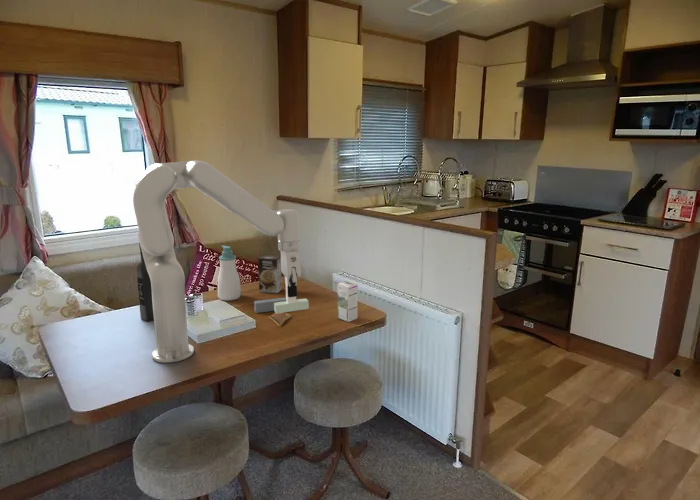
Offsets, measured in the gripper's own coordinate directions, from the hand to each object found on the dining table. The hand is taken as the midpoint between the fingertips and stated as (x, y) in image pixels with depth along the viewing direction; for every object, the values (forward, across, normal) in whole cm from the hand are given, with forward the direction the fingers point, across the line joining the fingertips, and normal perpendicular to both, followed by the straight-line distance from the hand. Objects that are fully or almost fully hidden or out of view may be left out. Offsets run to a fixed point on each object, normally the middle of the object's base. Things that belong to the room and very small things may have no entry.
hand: (290, 294), depth 162 cm
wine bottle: (+13, +31, +48) cm, 59 cm away
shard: (+15, +11, +1) cm, 19 cm away
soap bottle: (+14, +45, +16) cm, 50 cm away
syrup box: (+15, +3, -23) cm, 28 cm away
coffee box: (+14, +48, -3) cm, 51 cm away
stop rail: (+14, +24, +1) cm, 28 cm away
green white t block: (+6, 0, 0) cm, 6 cm away
